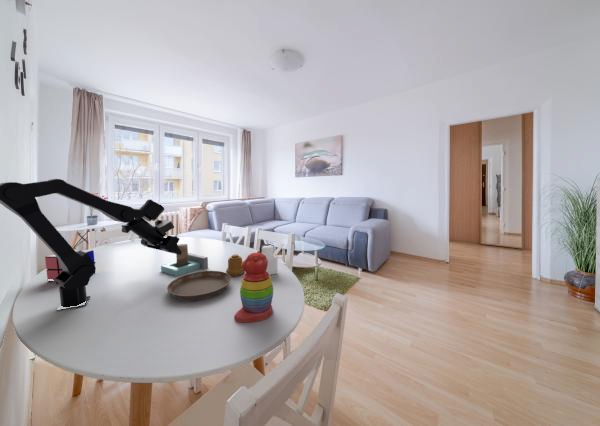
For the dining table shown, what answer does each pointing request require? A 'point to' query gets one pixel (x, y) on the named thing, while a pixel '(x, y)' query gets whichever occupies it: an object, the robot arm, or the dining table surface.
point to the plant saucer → (199, 285)
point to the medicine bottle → (269, 258)
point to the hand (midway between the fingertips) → (174, 252)
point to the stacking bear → (255, 290)
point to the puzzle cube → (54, 266)
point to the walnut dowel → (182, 255)
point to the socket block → (180, 268)
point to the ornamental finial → (235, 266)
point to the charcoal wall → (199, 260)
